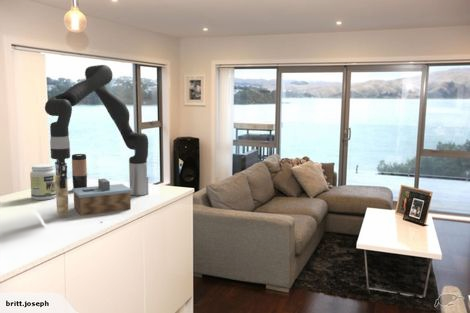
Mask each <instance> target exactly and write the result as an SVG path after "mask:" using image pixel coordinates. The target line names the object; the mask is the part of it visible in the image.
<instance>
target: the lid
mask: <svg viewBox="0 0 470 313" xmlns="http://www.w3.org/2000/svg"><path fill="white" fill-rule="evenodd" d="M97 180H98V182H97V185H95V186H87V187H84V188H74V189H73V188H71V191H72V192H73V194H74V193H75V194H76V195H77V196H78V197H79V198H83V197H92V196H102V195H111V194H120V193H129V192H132V190H131V189H130V187H129V186H126V185H124V184H122V183H118V184H117V183H116V184H115V183H114V184H110V180H108V179H106V178H98V179H97Z"/></svg>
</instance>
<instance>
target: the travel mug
mask: <svg viewBox="0 0 470 313" xmlns="http://www.w3.org/2000/svg"><path fill="white" fill-rule="evenodd" d="M87 166H88V165H87V154H86V153H74V154H71V170H72V171H71V174H72V189H74V188H84V187H88V172H87V171H88V168H87Z"/></svg>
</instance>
